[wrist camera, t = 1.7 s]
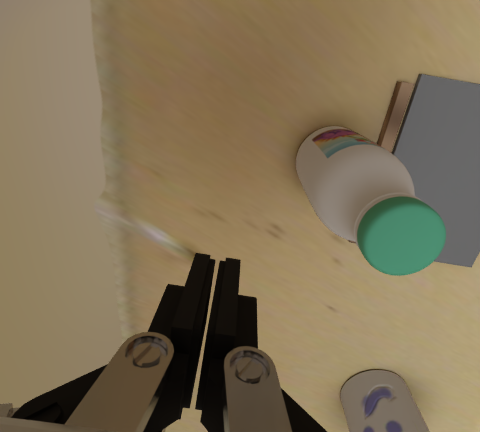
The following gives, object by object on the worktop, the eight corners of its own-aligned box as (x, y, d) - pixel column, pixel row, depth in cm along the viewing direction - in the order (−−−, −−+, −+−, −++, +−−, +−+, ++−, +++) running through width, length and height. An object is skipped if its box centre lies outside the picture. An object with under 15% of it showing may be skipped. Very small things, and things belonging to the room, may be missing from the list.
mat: (419, 74, 33) (421, 74, 32) (552, 97, 33) (558, 98, 33) (359, 247, 41) (360, 249, 40) (468, 264, 41) (471, 267, 40)
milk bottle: (338, 204, 39) (415, 319, 20) (282, 173, 37) (309, 266, 19) (379, 146, 36) (511, 219, 17) (319, 111, 35) (394, 149, 16)
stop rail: (397, 81, 33) (402, 81, 32) (408, 83, 33) (414, 83, 32) (346, 237, 40) (349, 242, 39) (356, 239, 40) (359, 243, 39)
